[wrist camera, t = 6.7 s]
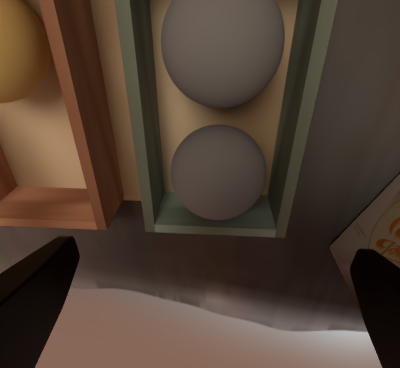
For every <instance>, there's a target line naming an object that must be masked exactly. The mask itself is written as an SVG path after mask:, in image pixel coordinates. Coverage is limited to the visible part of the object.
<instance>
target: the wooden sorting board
mask: <svg viewBox="0 0 400 368" xmlns="http://www.w3.org/2000/svg"><path fill="white" fill-rule="evenodd" d="M24 1H25V3H26V4H27V5H28V6H29V7H30V8H31V9H32V11H33V12H34V13H35V14H36V16H37V17H38V19H39V20H40V22H41V24H42V26H43V28H44V30H45V32H46V35H47V38H48V41H49V46H50V66H49V70H48V73H47V75H46V77H45V79H44V81H43V83H42V84H41V85H40V86H39V88H38V89H36V90H35V91H34V92H33V93H32V94H30V95H28V96H27V97H25V98H23V99H20V100H17V101H14V102H9V103H0V225H1V226H24V227H47V228H69V229H92V230H107V229H108V227H109V225H110V223H111V221H112V219H113V217H114V215H115V214H116V212H117V210H118V208H119V206H120V204H121V202H122V200H131V201H141V202H142V210H143V217H144V225H145V232H161V233H184V234H207V235H230V236H253V237H276V238H285V236H286V231H287V227H288V222H289V218H290V213H291V209H292V204H293V200H294V195H295V191H296V186H297V182H298V177H299V173H300V169H301V164H302V160H303V155H304V151H305V146H306V142H307V137H308V133H309V128H310V124H311V119H312V115H313V110H314V106H315V102H316V97H317V93H318V88H319V84H320V79H321V75H322V70H323V66H324V61H325V57H326V52H327V48H328V43H329V39H330V34H331V30H332V26H333V21H334V17H335V12H336V8H337V3H338V0H276V1H277V3H278V5H279V8H280V10H281V13H282V17H283V21H284V28H285V43H284V50H283V55H282V59H281V62H280V65H279V67H278V69H277V71H276V73H275V75H274V77H273V78H272V80H271V81H270V82H269V84H268V85H267V86H266V87H265V88H264V89H263V90H262V91H261V92H260V93H259V94H258V95H257V96H255V97H254V98H252V99H251V100H249V101H247V102H245V103H243V104H240V105H237V106H234V107H228V108H212V107H208V106H204V105H201V104H198V103H196V102H194V101H193V100H191V99H190V98H188V97H187V96H185V95H184V94H183V93H182V92H181V91H180V90H179V89H178V88H177V87H176V85H175V84H174V83H173V81H172V80H171V78H170V76H169V74H168V72H167V70H166V67H165V64H164V61H163V57H162V50H161V31H162V25H163V21H164V17H165V14H166V12H167V9H168V7H169V5H170V3H171V1H172V0H24ZM216 124H221V125H229V126H233V127H236V128H238V129H240V130H242V131H244V132H245V133H247V134H248V135H249V136H250V137H251V138H252V139H254V141H255V142H256V143H257V144H258V146H259V148H260V149H261V151H262V153H263V156H264V159H265V163H266V181H265V185H264V188H263V191H262V193H261V195H260V197H259V198H258V200H257V201H256V202H255V204H254V205H253V206H252V207H251V208H250V209H248V210H247V211H246V212H244V213H242V214H241V215H239V216H237V217H234V218H231V219H226V220H211V219H206V218H203V217H200V216H198V215H196V214H194V213H193V212H191V211H190V210H188V209H187V208H186V207H185V206H184V205H183V204H182V203H181V201H180V200H179V199H178V197H177V196H176V193H175V191H174V189H173V186H172V182H171V163H172V159H173V156H174V153H175V151H176V149H177V147H178V146H179V144H180V143H181V142H182V141H183V140H184V139H185V138H186V137H187V136H188V135H189V134H190V133H192V132H193V131H195V130H197V129H199V128H202V127H205V126H208V125H216Z"/></svg>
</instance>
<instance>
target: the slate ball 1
mask: <svg viewBox="0 0 400 368" xmlns="http://www.w3.org/2000/svg"><path fill="white" fill-rule="evenodd" d="M284 43H285V28H284V21H283V17H282V13H281V10H280V8H279V5H278V3H277V1H276V0H172V1H171V3H170V5H169V7H168V9H167V12H166V14H165V17H164V21H163V25H162V31H161V50H162V57H163V61H164V64H165V67H166V70H167V72H168V74H169V76H170V78H171V80H172V81H173V83H174V84H175V85H176V87H177V88H178V89H179V90H180V91H181V92H182V93H183V94H184V95H185V96H187V97H188V98H190V99H191V100H193V101H194V102H196V103H198V104H201V105H204V106H208V107H212V108H228V107H234V106H237V105H240V104H243V103H245V102H247V101H249V100H251V99H252V98H254V97H255V96H257V95H258V94H259V93H260V92H261V91H262V90H263V89H264V88H265V87H266V86H267V85H268V84H269V82H270V81H271V80H272V78H273V77H274V75H275V73H276V71H277V69H278V67H279V65H280V62H281V59H282V55H283V50H284Z"/></svg>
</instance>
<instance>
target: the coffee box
mask: <svg viewBox="0 0 400 368" xmlns="http://www.w3.org/2000/svg"><path fill="white" fill-rule="evenodd" d="M360 248H365V249H374V250H375V251H377V252H378V253H380V254H381V255H382V256H384V257H385V258H387V259H388V260H389V261H391V262H392V263H394V264H395V265H396V266H398V267H399V268H400V174H399V175H398V176H397V177H396V178H395V179H394V180H393V181H392V182H391V183H390V184H389V185H388V186H387V187H386V188H385V189H384V190H383V191H382V192H381V193H380V195H379V196H378V197H377V198H376V199H375V200H374V201H373V202H372V203H371V204H370V205H369V206H368V207H367V208H366V209H365V210H364V211H363V212H362V213H361V214H360V215H359V216H358V217H357V218H356V219H355V221H354V222H353V223H352V224H351V225H350V226H349V227H348V228H347V229H346V230H345V231H344V232H343V233H342V234H341V235H340V236H339V237H338V238H337V239H336V240H335V241H334V242H333V243H332V244H331V246H330V251H331V253H332V255H333V257H334V259H335V261H336V263H337V265H338V267H339V269H340V271H341V273H342V275H343V277H344V279H345V281H346V283H347V285H348V287H349V289H350V291H351V293H352V296H353V298H354V300H355V302H356V304H357V306H358V308H359V310H360V307H359V303H358V300H357V296H356V293H355V289H354V286H353V282H352V279H351V275H350V265H351V263H352V261H353V258H354V256H355V254H356V251H357V250H358V249H360ZM360 311H361V310H360Z"/></svg>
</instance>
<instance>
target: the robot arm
mask: <svg viewBox="0 0 400 368" xmlns="http://www.w3.org/2000/svg"><path fill="white" fill-rule="evenodd" d="M79 258H80V255H79V251H78V248H77V245H76V241H75V239H74V237H73V236H63V235H62V236H58V237H57V238H55V239H53V240H52V241H50V242H49V243H47V244H46V245H44V246H42V247H41V248H39V249H38V250H36V251H35V252H33V253H32V254H30V255H28V256H27V257H25V258H24V259H22V260H21V261H19V262H18V263H16V264H14V265H13V266H11V267H10V268H8V269H7V270H5V271H3V272H2V273H0V368H35V366H36V363H37V362H38V359H39V357H40V355H41V353H42V351H43V349H44V347H45V344H46V342H47V340H48V338H49V336H50V333H51V332H52V329H53V327H54V325H55V323H56V321H57V319H58V316H59V314H60V312H61V309H62V308H63V305H64V303H65V300H66V297H67V294H68V292H69V289H70V286H71V283H72V280H73V277H74V274H75V271H76V268H77V265H78V262H79ZM350 275H351V279H352V282H353V286H354V289H355V293H356V296H357V300H358V303H359V307H360V310H361V314H362V317H363V320H364V323H365V325H366V328H367V331H368V333H369V336H370V338H371V340H372V343H373V345H374V348H375V350H376V353H377V355H378V358H379V360H380V363H381V365H382V367H383V368H400V268H399V267H398V266H396V265H395V264H394V263H392V262H391V261H389V260H388V259H387V258H385V257H384V256H382V255H381V254H380V253H378V252H377V251H375V250H374V249H365V248H360V249H358V250H357V251H356V254H355V256H354V258H353V261H352V263H351V265H350Z"/></svg>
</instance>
